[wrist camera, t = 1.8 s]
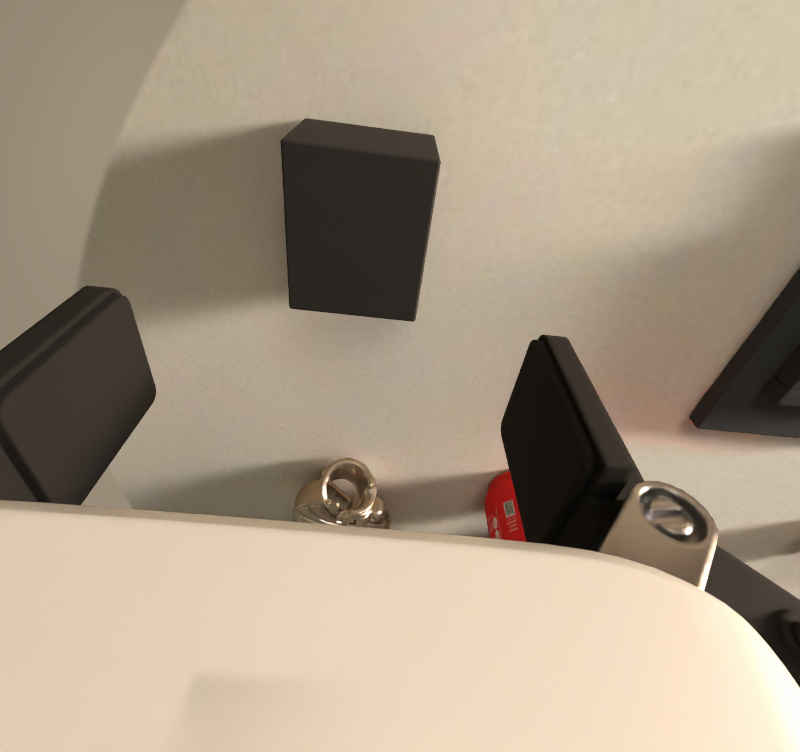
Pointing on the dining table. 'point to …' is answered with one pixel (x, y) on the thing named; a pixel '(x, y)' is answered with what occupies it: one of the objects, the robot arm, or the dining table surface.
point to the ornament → (342, 498)
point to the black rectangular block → (357, 217)
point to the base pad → (761, 377)
